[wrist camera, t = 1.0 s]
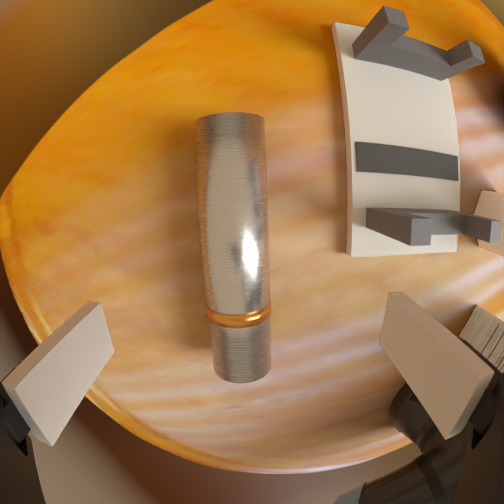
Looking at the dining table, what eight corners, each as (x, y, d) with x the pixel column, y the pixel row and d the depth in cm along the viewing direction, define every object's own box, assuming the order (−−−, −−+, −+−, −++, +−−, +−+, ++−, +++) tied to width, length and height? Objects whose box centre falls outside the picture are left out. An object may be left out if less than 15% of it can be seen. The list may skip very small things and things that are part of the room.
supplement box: (444, 354, 32) (505, 419, 15) (476, 302, 30) (549, 354, 13) (469, 364, 33) (521, 418, 16) (497, 319, 31) (557, 364, 15)
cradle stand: (449, 248, 28) (503, 271, 18) (346, 253, 28) (389, 287, 18) (435, 54, 22) (480, 30, 12) (331, 28, 22) (359, -21, 12)
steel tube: (276, 353, 29) (263, 387, 24) (225, 346, 31) (204, 377, 25) (271, 125, 24) (253, 108, 18) (212, 131, 25) (181, 120, 20)
